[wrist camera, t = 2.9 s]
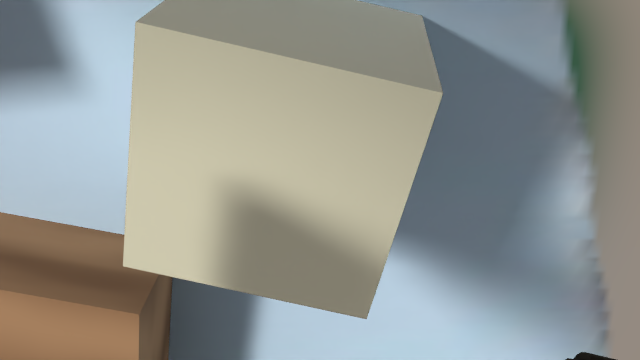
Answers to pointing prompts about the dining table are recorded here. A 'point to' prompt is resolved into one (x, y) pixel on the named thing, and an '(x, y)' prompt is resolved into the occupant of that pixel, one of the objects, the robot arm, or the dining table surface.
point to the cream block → (276, 144)
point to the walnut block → (77, 296)
